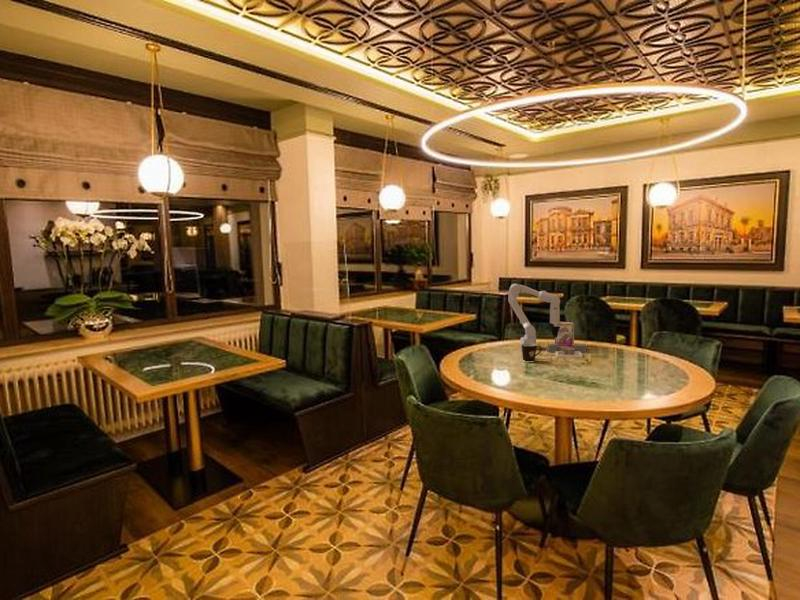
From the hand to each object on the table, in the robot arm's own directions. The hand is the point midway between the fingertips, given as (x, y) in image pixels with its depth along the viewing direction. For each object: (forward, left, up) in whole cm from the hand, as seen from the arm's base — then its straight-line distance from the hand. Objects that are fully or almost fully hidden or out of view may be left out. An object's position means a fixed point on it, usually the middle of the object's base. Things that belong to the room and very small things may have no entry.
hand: (554, 335), depth 295 cm
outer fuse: (+10, -13, -8) cm, 19 cm away
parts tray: (0, -19, -9) cm, 21 cm away
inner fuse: (-5, -7, -8) cm, 12 cm away
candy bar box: (+10, +7, -10) cm, 16 cm away
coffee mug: (-25, -23, -10) cm, 35 cm away
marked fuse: (0, -19, -9) cm, 21 cm away
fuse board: (+3, -10, -9) cm, 14 cm away
